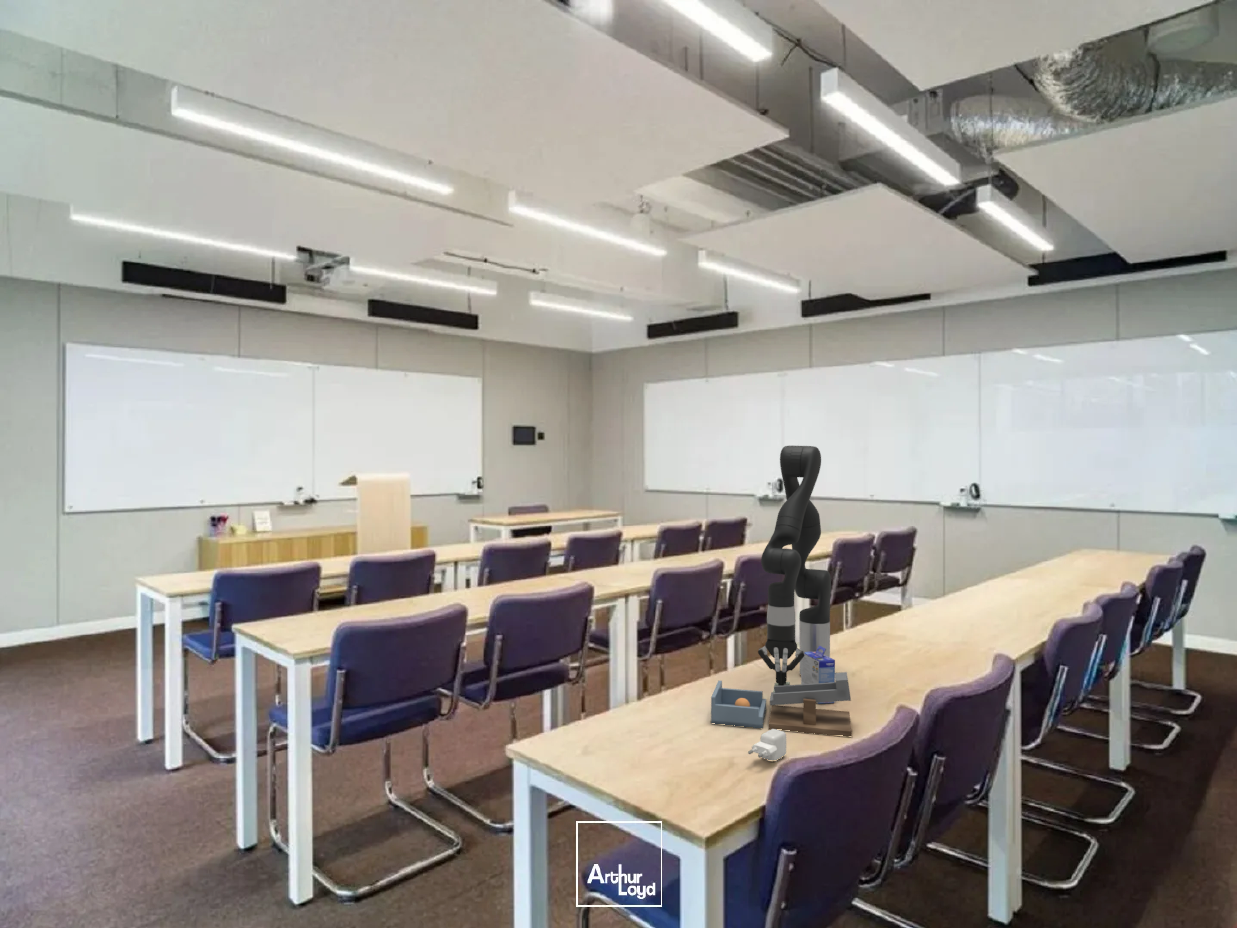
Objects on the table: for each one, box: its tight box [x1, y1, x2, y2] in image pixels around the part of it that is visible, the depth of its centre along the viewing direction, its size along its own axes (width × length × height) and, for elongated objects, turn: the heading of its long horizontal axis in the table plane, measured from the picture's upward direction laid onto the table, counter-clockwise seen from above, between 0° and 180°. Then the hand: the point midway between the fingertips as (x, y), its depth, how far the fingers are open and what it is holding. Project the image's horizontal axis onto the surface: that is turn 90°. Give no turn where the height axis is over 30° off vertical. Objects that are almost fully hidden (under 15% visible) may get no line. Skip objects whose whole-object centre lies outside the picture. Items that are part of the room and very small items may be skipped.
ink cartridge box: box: [800, 646, 836, 705], centre depth 204 cm, size 10×6×14 cm, turn 15°
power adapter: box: [747, 729, 787, 760], centre depth 163 cm, size 11×5×6 cm, turn 137°
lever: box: [769, 671, 852, 706], centre depth 189 cm, size 15×20×6 cm
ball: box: [735, 698, 750, 707], centre depth 190 cm, size 4×4×4 cm
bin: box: [710, 680, 767, 729], centre depth 191 cm, size 14×13×7 cm
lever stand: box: [768, 699, 853, 737], centre depth 186 cm, size 14×20×8 cm
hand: (781, 684), depth 196 cm, fingers closed
